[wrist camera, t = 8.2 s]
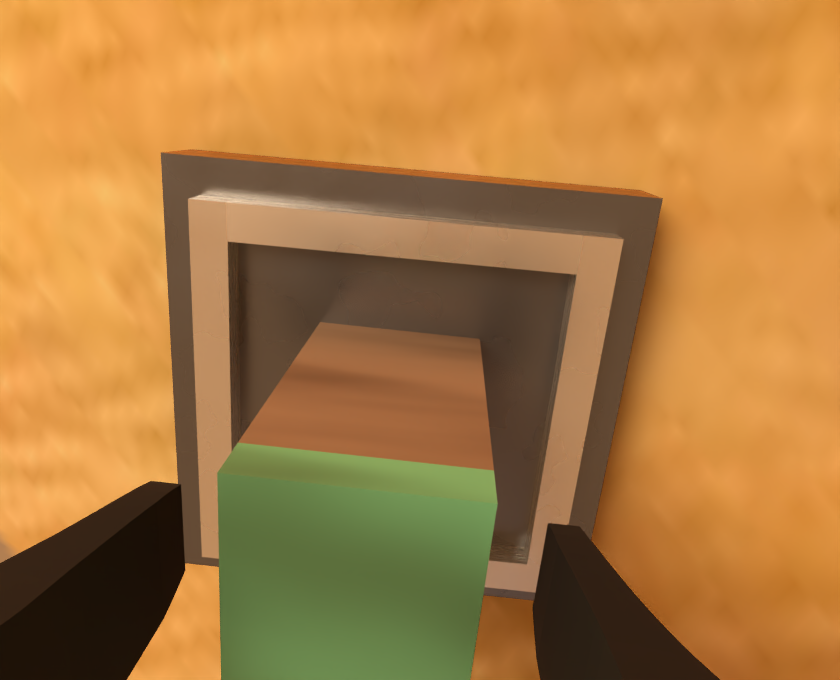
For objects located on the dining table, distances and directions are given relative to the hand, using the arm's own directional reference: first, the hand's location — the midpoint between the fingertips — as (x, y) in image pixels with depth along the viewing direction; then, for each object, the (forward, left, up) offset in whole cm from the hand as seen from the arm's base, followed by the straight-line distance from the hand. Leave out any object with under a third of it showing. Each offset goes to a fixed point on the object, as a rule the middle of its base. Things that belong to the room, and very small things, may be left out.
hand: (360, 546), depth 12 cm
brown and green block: (0, 0, -7) cm, 7 cm away
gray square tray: (0, 0, -9) cm, 9 cm away
